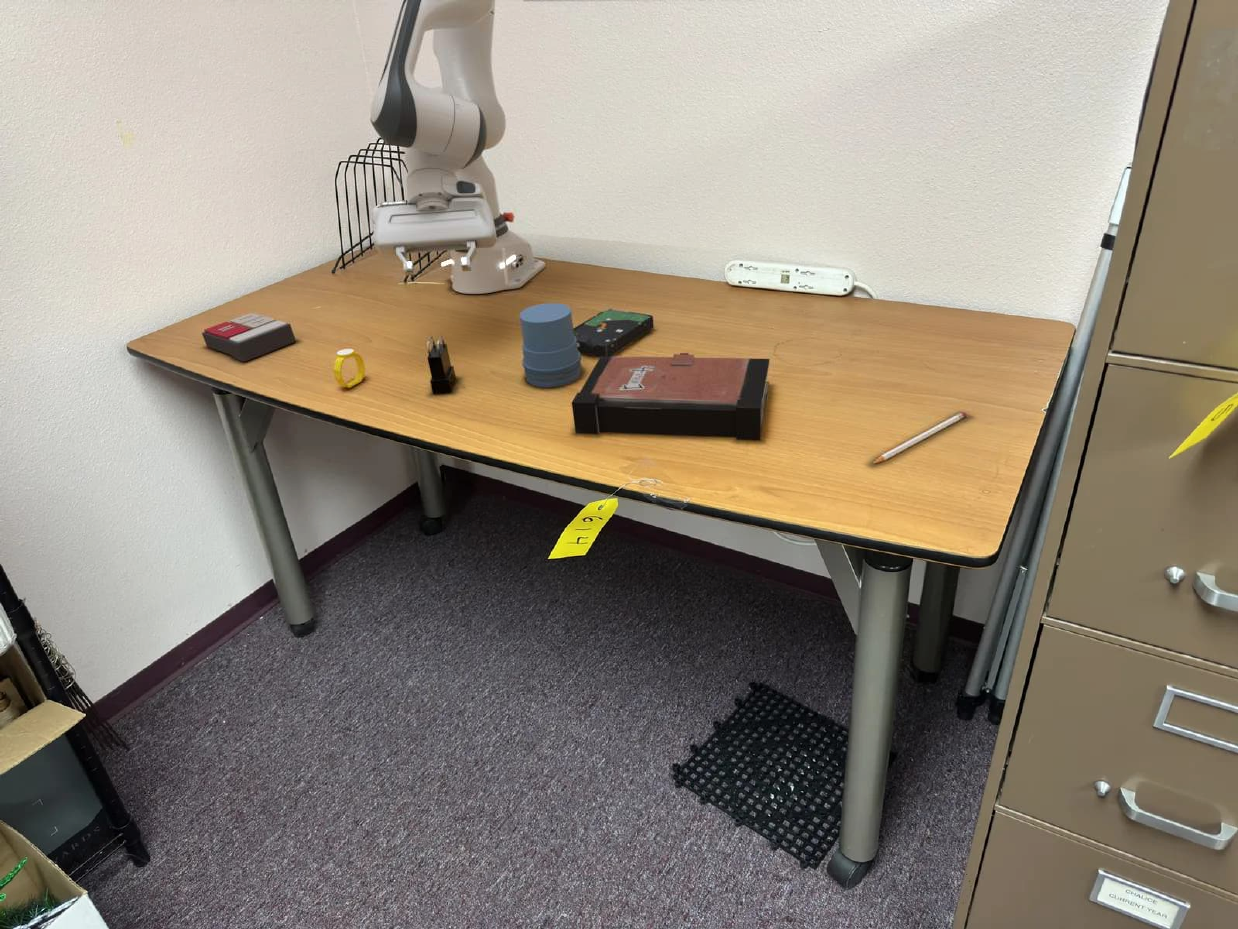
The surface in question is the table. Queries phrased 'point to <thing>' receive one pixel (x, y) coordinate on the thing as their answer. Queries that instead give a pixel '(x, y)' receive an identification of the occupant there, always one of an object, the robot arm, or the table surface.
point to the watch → (338, 365)
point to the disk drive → (611, 332)
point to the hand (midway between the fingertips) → (437, 271)
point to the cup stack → (549, 345)
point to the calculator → (249, 336)
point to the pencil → (920, 437)
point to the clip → (440, 367)
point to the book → (674, 397)
